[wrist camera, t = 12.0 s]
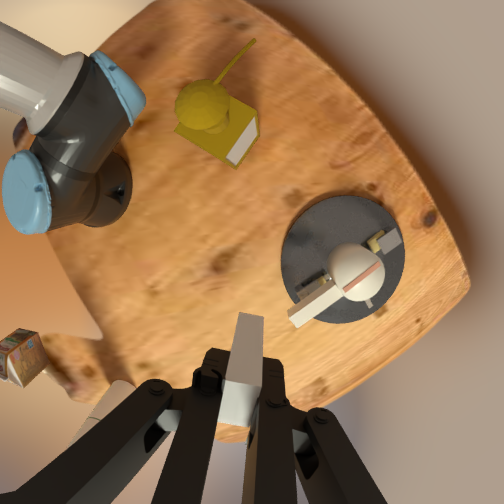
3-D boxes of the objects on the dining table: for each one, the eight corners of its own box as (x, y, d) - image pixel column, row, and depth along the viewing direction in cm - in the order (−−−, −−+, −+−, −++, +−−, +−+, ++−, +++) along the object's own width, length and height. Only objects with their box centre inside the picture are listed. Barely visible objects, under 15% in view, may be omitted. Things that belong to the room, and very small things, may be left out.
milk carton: (38, 332, 57) (-4, 363, 38) (50, 363, 59) (14, 397, 41) (19, 328, 57) (-20, 355, 39) (30, 357, 60) (-5, 387, 41)
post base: (254, 243, 48) (253, 247, 45) (366, 170, 44) (374, 169, 41) (321, 342, 52) (324, 351, 48) (418, 277, 48) (427, 283, 45)
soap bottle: (277, 111, 43) (286, 47, 20) (236, 170, 46) (208, 150, 23) (242, 91, 42) (224, 19, 19) (202, 148, 45) (147, 115, 22)
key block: (373, 217, 45) (391, 222, 37) (394, 252, 46) (414, 263, 38) (276, 290, 49) (278, 308, 41) (302, 321, 50) (307, 343, 42)
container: (132, 379, 57) (76, 468, 28) (146, 404, 59) (102, 492, 30) (106, 379, 58) (49, 457, 29) (120, 403, 60) (73, 481, 30)
